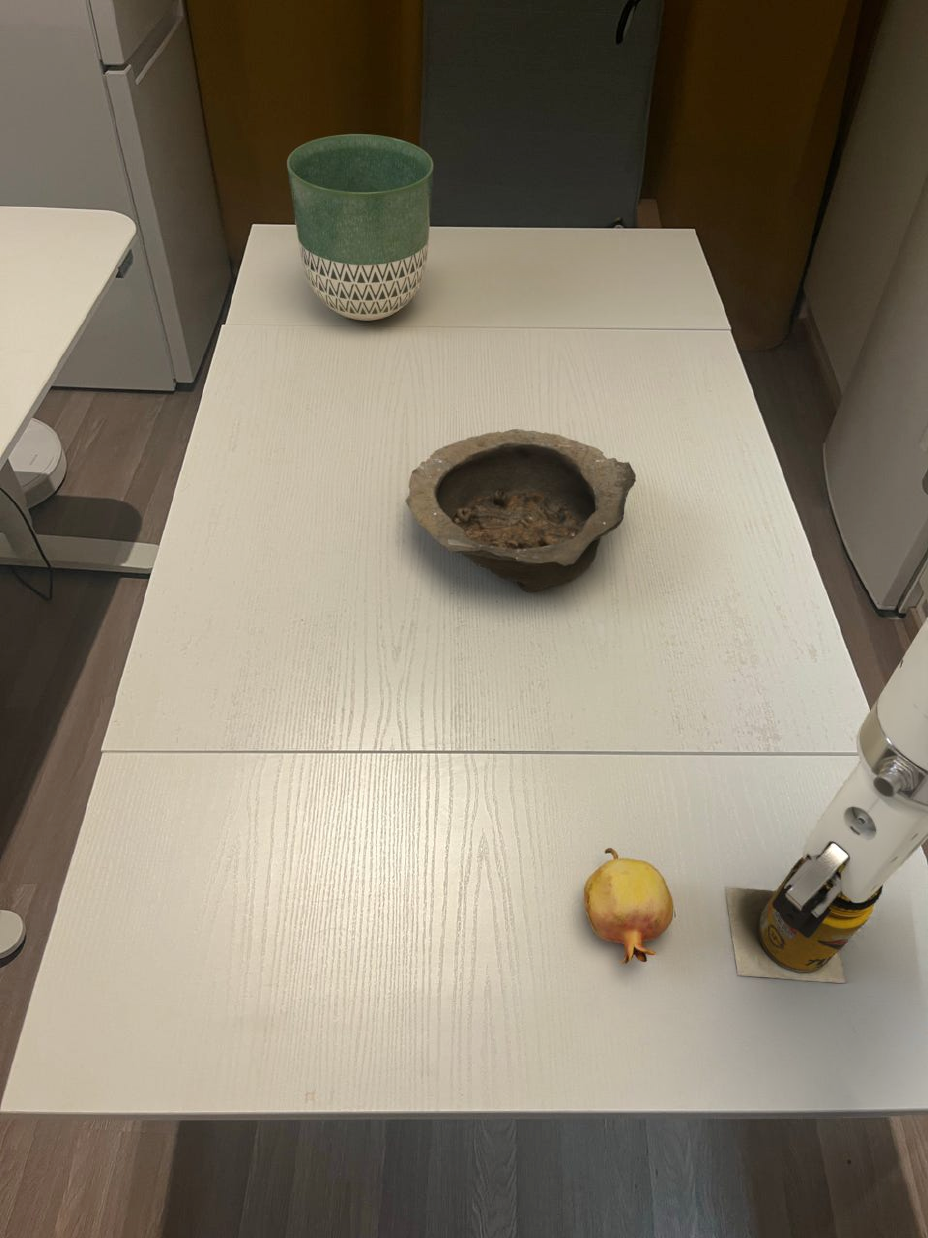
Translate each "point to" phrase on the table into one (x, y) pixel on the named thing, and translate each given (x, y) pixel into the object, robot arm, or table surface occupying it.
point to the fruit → (628, 904)
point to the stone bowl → (521, 503)
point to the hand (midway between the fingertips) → (832, 880)
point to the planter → (362, 220)
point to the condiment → (792, 935)
